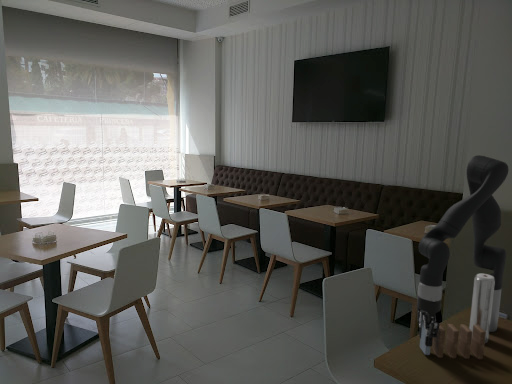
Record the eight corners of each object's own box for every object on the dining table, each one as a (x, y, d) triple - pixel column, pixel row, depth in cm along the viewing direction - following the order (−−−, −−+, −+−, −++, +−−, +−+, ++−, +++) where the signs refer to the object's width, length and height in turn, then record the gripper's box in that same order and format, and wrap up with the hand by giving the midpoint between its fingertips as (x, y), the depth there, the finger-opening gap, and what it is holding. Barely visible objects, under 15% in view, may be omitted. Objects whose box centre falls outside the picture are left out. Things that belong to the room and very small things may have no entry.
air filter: (488, 337, 149) (495, 274, 146) (488, 345, 144) (495, 280, 140) (468, 333, 152) (475, 271, 149) (468, 340, 147) (474, 276, 143)
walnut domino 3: (464, 358, 135) (467, 331, 133) (457, 350, 140) (460, 324, 138) (469, 358, 135) (472, 331, 133) (462, 350, 140) (465, 324, 138)
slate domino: (424, 347, 140) (426, 320, 138) (429, 354, 135) (432, 327, 134) (419, 346, 140) (421, 320, 139) (425, 354, 135) (427, 327, 134)
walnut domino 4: (478, 359, 135) (480, 331, 133) (470, 351, 140) (473, 324, 138) (482, 359, 135) (485, 331, 133) (475, 351, 140) (478, 324, 138)
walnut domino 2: (451, 358, 135) (454, 330, 133) (445, 350, 140) (447, 323, 138) (456, 358, 135) (458, 331, 133) (449, 350, 140) (452, 324, 138)
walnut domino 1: (438, 357, 135) (440, 330, 134) (432, 349, 140) (434, 323, 138) (442, 357, 135) (445, 330, 134) (436, 349, 140) (439, 323, 138)
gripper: (411, 287, 142) (407, 331, 144) (426, 304, 128) (422, 352, 130) (432, 287, 141) (428, 332, 144) (450, 304, 127) (445, 353, 130)
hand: (425, 341), depth 137 cm, fingers closed on slate domino, 4 cm apart
